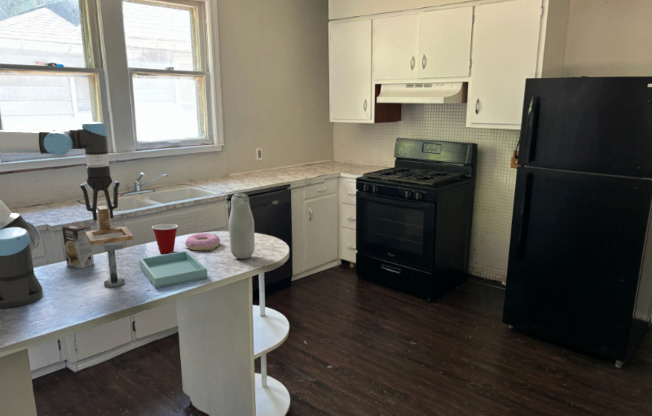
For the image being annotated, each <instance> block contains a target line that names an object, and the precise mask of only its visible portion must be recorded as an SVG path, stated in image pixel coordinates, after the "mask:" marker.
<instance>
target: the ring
mask: <svg viewBox="0 0 652 416" xmlns="http://www.w3.org/2000/svg"><path fill="white" fill-rule="evenodd" d="M96 211H98V212H99V220H100V229H95V230H91V231H87V232H85V233H86V237H87V239H88V241H89V243H90V244H91V246H92V247H93V246H98V245H103V244H112V243H120V242H125V241H133V240H134V239H135V238H134V235H133V233H132V232H131V231H130V230H129V228H128V227H127V226H120V227H119V226H118V227H111V228H110V221H109V209H108V206H107V205H100V206H99V205H97V209H96ZM118 233H121V234H123V235H117V236H116V235H115V236H110V237H108V236H107V237H103V238H95V237H96V236H103V235H110V234H112V235H113V234H118Z"/></svg>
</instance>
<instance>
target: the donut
mask: <svg viewBox="0 0 652 416" xmlns="http://www.w3.org/2000/svg"><path fill="white" fill-rule="evenodd" d="M220 242H221V239H220V237H219V236H218V235H217V234H216V233H215V234H213V233H209V232H208V233H201V232H200V233H195V234H192V235H189V236H188V237H187V238H186V241H185V243H184V244H185V246H186V247H187V248H188V249H190V251H191V250H192V251H199V252H200V251H201V252H202V251H209V250H213V249H216V248H217V247H219V245H220Z"/></svg>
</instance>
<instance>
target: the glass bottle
mask: <svg viewBox="0 0 652 416" xmlns="http://www.w3.org/2000/svg"><path fill="white" fill-rule="evenodd" d="M230 204H231V207H230V215H229V218H228V219H229V220H228V233H229V247H230V248H229V249H230V252H231V254H232V256H233V257H235V258H237V259H239V260H240V259H241V260H245V259H249V258H251V257H252V255H253V254H254V251H255V245H256V244H255V220H254V219H255V218H254V216H253V212H252V209H251V205H250V198H249V195H248V194H247V193H243V192H236V193H234V194H233V195H232V196H231V201H230Z"/></svg>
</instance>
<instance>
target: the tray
mask: <svg viewBox="0 0 652 416" xmlns="http://www.w3.org/2000/svg"><path fill="white" fill-rule="evenodd" d="M138 261H139V262H138V263H139V269H140V270H141V271H142V273H143V274H144V275H145V277H146V278H147V279H148V280H149V282H150V284H151V285H152V286H153V287H154V289H161V288H165V287H170V286H176V285H181V284H185V283H190V282H196V281H200V280H205V279H208V268H207V267H205V266H204V265H203V264H202V263H201V262H200V261H199V260H198V259H197V258H195V256H193V255H192V254H191V253H190V252H189V251H188V250H182V251H177V252H172V253H169V254H160V255H154V256H148V257H141V258H138Z"/></svg>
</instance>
